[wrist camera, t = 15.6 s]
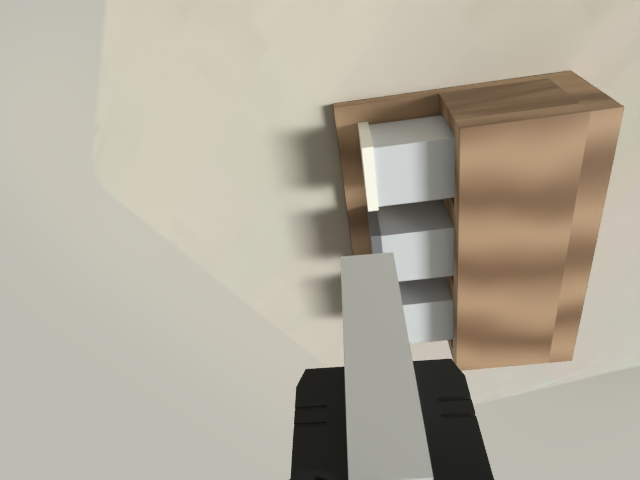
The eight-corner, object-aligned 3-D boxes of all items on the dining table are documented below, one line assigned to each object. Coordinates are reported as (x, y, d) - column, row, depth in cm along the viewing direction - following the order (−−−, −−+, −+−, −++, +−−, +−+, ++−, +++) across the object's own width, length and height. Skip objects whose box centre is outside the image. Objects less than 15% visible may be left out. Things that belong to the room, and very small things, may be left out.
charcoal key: (366, 205, 43) (370, 236, 39) (518, 187, 42) (538, 217, 38) (371, 253, 46) (376, 287, 42) (513, 237, 44) (532, 270, 40)
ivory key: (357, 122, 38) (361, 148, 34) (526, 99, 37) (550, 123, 33) (364, 181, 41) (368, 211, 37) (520, 162, 40) (542, 190, 36)
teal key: (373, 273, 47) (378, 307, 43) (511, 258, 46) (529, 292, 42) (377, 313, 50) (382, 349, 46) (508, 300, 49) (524, 335, 45)
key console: (333, 103, 39) (335, 145, 32) (570, 70, 37) (624, 106, 31) (361, 317, 52) (367, 379, 45) (539, 300, 50) (571, 360, 43)
